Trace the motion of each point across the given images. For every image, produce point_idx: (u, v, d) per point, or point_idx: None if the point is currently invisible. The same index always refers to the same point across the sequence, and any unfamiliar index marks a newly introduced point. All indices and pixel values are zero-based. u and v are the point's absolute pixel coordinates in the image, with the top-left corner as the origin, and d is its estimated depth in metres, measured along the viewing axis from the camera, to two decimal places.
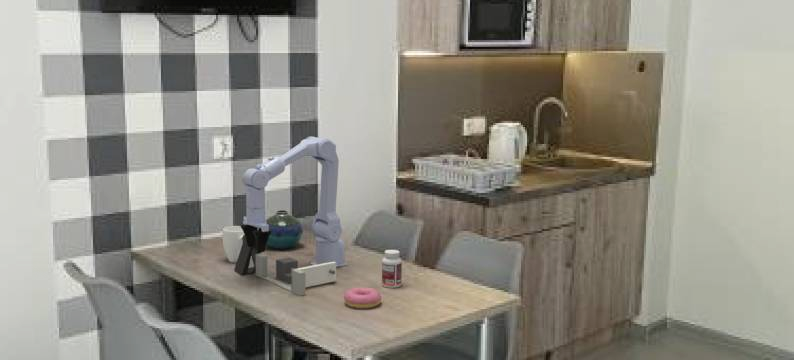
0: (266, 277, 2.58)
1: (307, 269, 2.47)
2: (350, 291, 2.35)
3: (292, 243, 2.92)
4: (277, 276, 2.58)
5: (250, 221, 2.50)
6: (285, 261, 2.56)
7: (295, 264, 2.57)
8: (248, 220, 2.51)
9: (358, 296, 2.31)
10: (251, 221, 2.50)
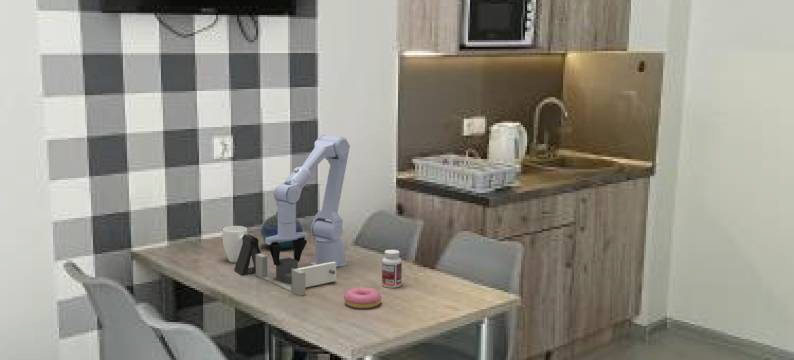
0: (266, 277, 2.58)
1: (307, 269, 2.47)
2: (350, 291, 2.35)
3: (292, 243, 2.92)
4: (277, 276, 2.58)
5: None
6: (285, 261, 2.56)
7: (295, 264, 2.57)
8: None
9: (358, 296, 2.31)
10: None
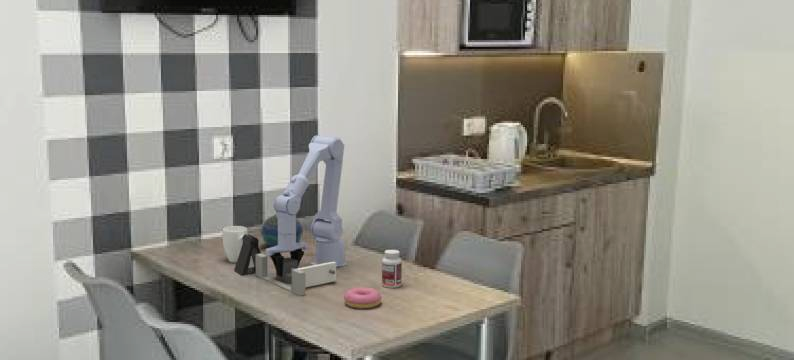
0: (266, 277, 2.58)
1: (307, 269, 2.47)
2: (350, 291, 2.35)
3: None
4: (277, 276, 2.58)
5: None
6: (285, 261, 2.56)
7: (295, 264, 2.57)
8: None
9: (358, 296, 2.31)
10: None
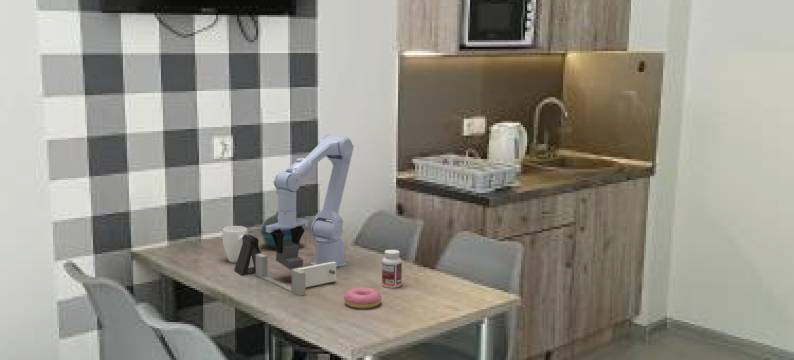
0: (266, 277, 2.58)
1: (307, 269, 2.47)
2: (350, 291, 2.35)
3: None
4: (277, 259, 2.57)
5: None
6: (286, 245, 2.55)
7: (296, 249, 2.56)
8: None
9: (358, 296, 2.31)
10: None
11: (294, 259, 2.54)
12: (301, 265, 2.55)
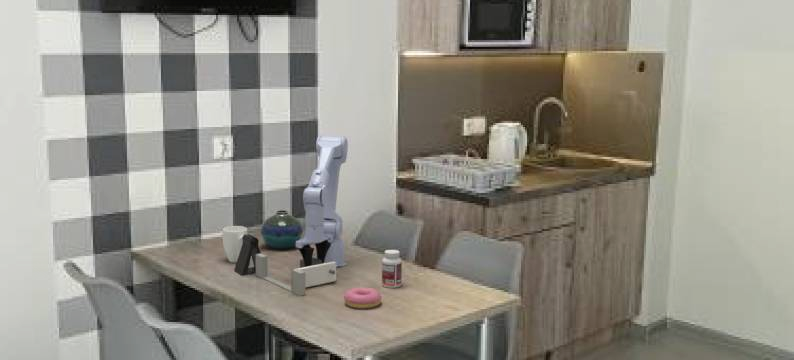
0: (266, 277, 2.58)
1: (307, 269, 2.47)
2: (350, 291, 2.35)
3: (292, 243, 2.92)
4: None
5: None
6: None
7: (320, 263, 2.59)
8: None
9: (358, 296, 2.31)
10: (305, 236, 2.57)
11: None
12: None
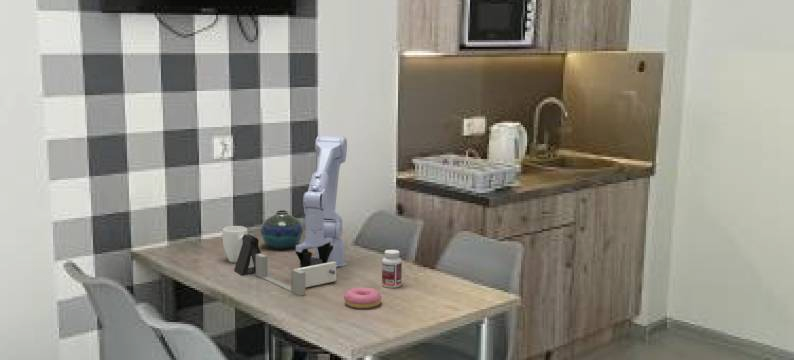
0: (266, 277, 2.58)
1: (307, 269, 2.47)
2: (350, 291, 2.35)
3: (292, 243, 2.92)
4: None
5: None
6: (310, 260, 2.57)
7: (320, 263, 2.59)
8: None
9: (358, 296, 2.31)
10: (305, 240, 2.57)
11: None
12: None
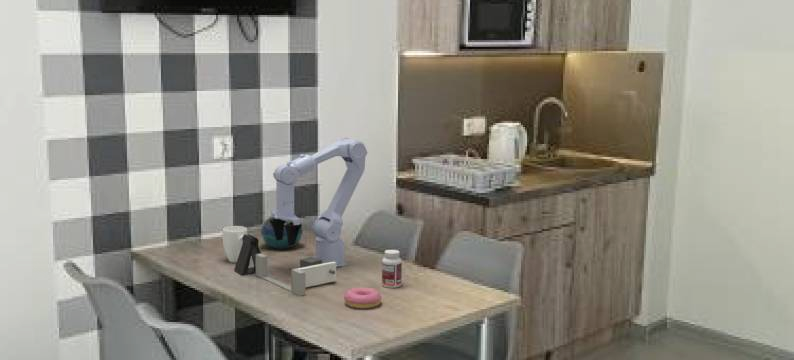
0: (266, 277, 2.58)
1: (307, 269, 2.47)
2: (350, 291, 2.35)
3: None
4: None
5: (281, 215, 2.60)
6: (310, 260, 2.57)
7: (320, 263, 2.59)
8: (279, 214, 2.60)
9: (358, 296, 2.31)
10: (282, 215, 2.60)
11: None
12: None
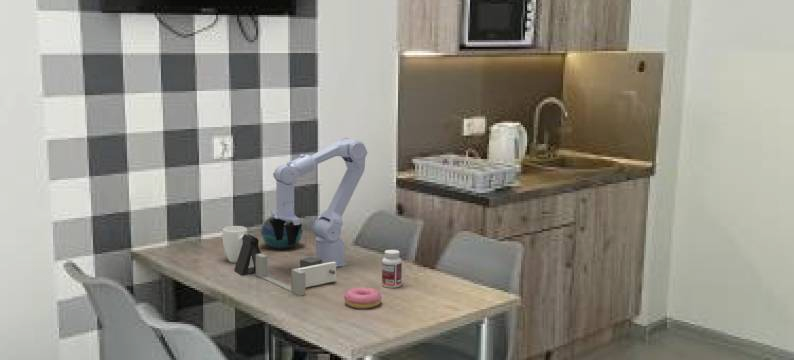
0: (266, 277, 2.58)
1: (307, 269, 2.47)
2: (350, 291, 2.35)
3: None
4: None
5: (281, 215, 2.60)
6: (310, 260, 2.57)
7: (320, 263, 2.59)
8: (279, 214, 2.60)
9: (358, 296, 2.31)
10: (282, 215, 2.60)
11: None
12: None
